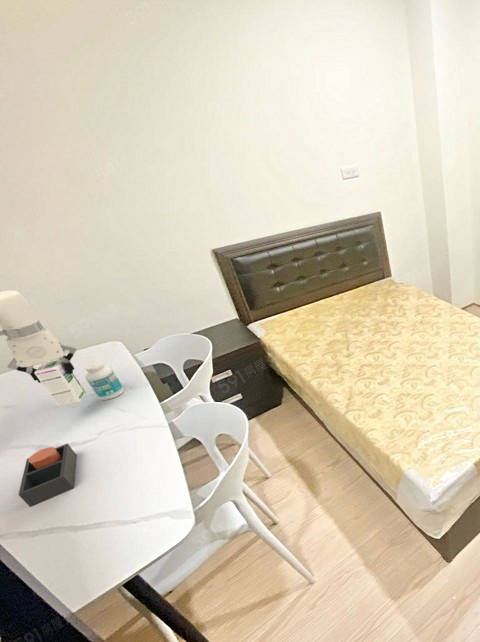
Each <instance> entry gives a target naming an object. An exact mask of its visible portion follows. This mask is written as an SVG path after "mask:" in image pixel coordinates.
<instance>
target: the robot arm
mask: <svg viewBox="0 0 480 642" xmlns="http://www.w3.org/2000/svg"><path fill="white" fill-rule="evenodd" d="M35 314H36V313H34V311H33V309H32V308H31V307H30V305H29V304H28V302H27V301H26V299H25V298H24V296H23V295H22V293H20V292H19V291H18V290H14V289H13V290H9V289H8V290H2V291H0V327H1V328H2V330H1V331H0V337H1V336H5V337H6V338H5V341H6V344H7V347H8V349H9V350H10V352H11V354H12V356H13V358H11V360H10V361H9V362H8V364H7V368H8V369H10V370H14V371H17V372H21V373H25V374H29V376H31V378H32V379H33V380H34V381H36V382H37V383H38V384H42V383H41V382H40V380H39V379H38V377H37V376H36V375H35V373H34V372H35V371H36V370H37V369H38V368H35V367H34V366H37V365H41V364H44V363H47V362H51V361H56V360H60V361H62V362H63V363H64V364H63V365H64V367H65V368H66V370H67V371H68V373H69V374H72V373H73V374H74V370H75V366H74V365H73V364H72V362H71V360H72V358H73V357H74V355H75V354H76V352H77V349H78V348H77V346H72V345H68V344H63V343H61V342H60V340H59V339H58V338H57V337H56V335H54V334H53V333H52V331H50V329H49V328H47V327H44V326H43V325H42V323H41V322H40V320H39V319H38V317H37V316H36V315H35ZM65 351H68V353H67V354H65Z"/></svg>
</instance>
